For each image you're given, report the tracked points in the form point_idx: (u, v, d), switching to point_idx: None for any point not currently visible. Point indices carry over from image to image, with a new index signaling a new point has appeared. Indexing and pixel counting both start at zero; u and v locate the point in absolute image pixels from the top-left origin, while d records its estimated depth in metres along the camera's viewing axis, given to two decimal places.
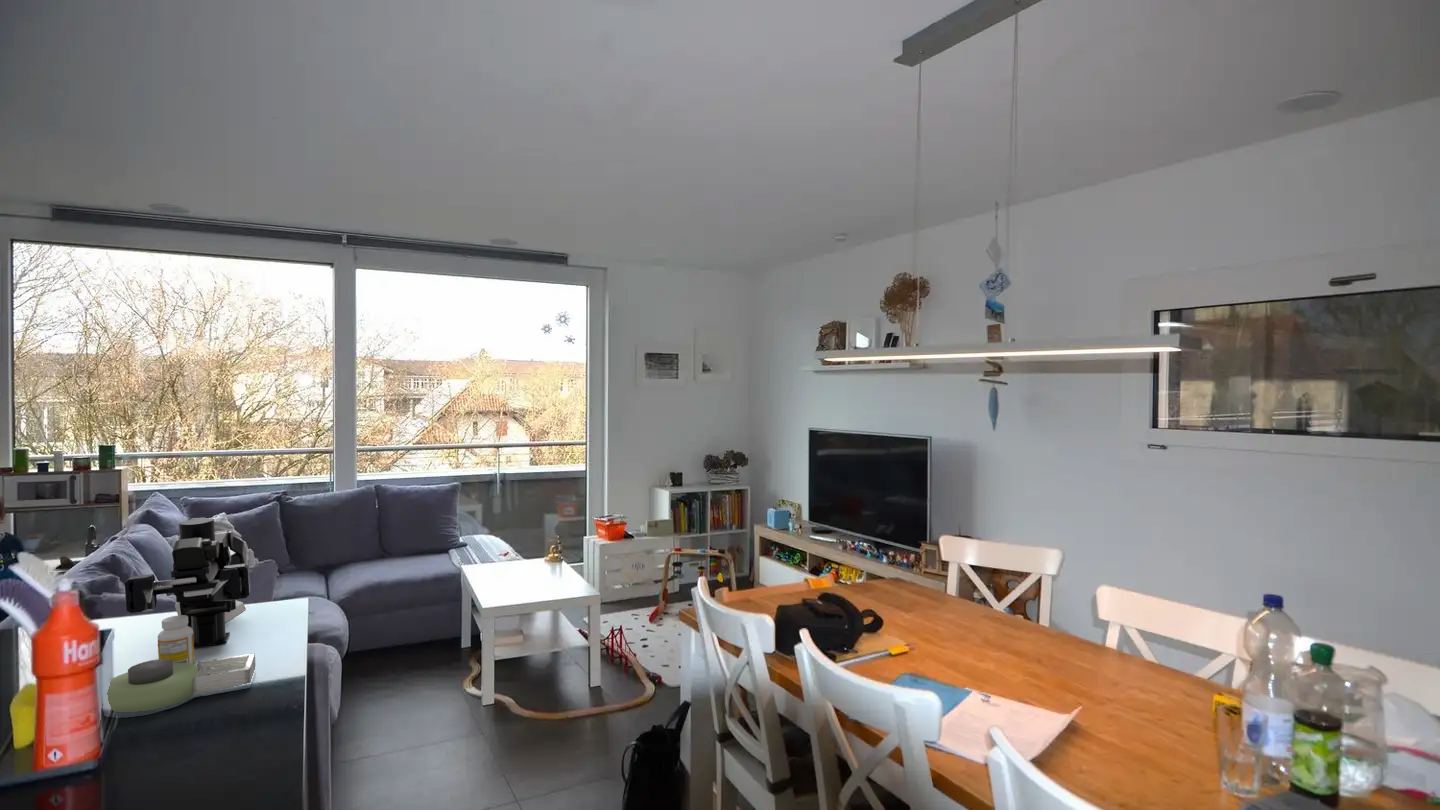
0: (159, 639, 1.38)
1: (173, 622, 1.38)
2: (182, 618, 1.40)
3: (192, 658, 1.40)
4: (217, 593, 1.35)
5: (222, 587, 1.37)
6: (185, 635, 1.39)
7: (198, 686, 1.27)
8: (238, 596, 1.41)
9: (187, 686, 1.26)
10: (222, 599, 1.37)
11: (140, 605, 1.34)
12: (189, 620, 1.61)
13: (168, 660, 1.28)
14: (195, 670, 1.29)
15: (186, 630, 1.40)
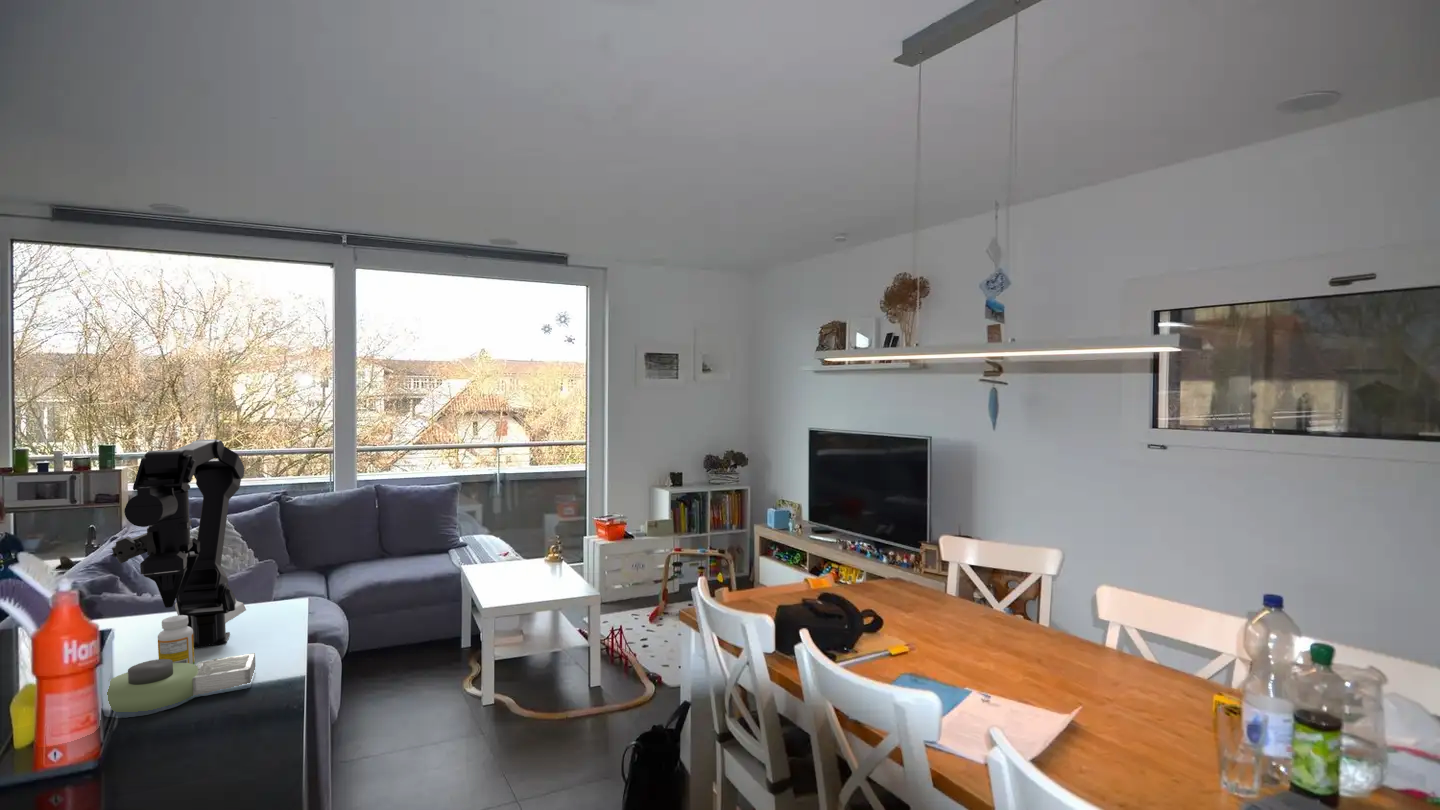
0: (159, 639, 1.38)
1: (173, 622, 1.38)
2: (182, 618, 1.40)
3: (192, 658, 1.40)
4: (166, 600, 1.35)
5: (162, 591, 1.34)
6: (185, 635, 1.39)
7: (198, 686, 1.27)
8: (179, 573, 1.34)
9: (187, 686, 1.26)
10: (177, 591, 1.35)
11: None
12: (189, 620, 1.61)
13: (168, 660, 1.28)
14: (195, 670, 1.29)
15: (186, 630, 1.40)
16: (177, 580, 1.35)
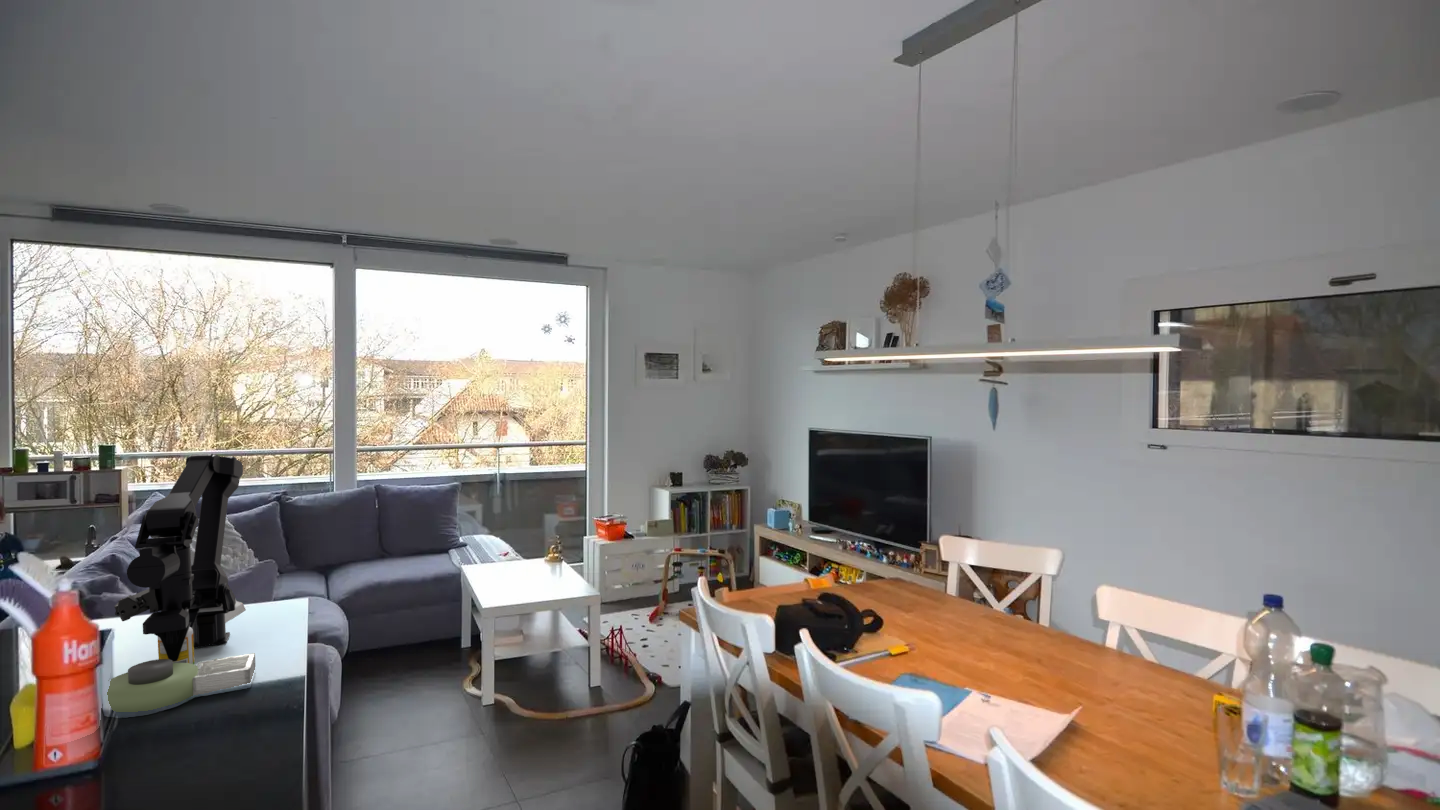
0: (159, 639, 1.38)
1: None
2: None
3: (192, 658, 1.40)
4: (171, 654, 1.37)
5: (166, 646, 1.36)
6: None
7: (198, 686, 1.27)
8: (184, 629, 1.36)
9: (187, 686, 1.26)
10: (181, 645, 1.37)
11: None
12: None
13: (168, 660, 1.28)
14: (195, 670, 1.29)
15: None
16: (181, 635, 1.37)
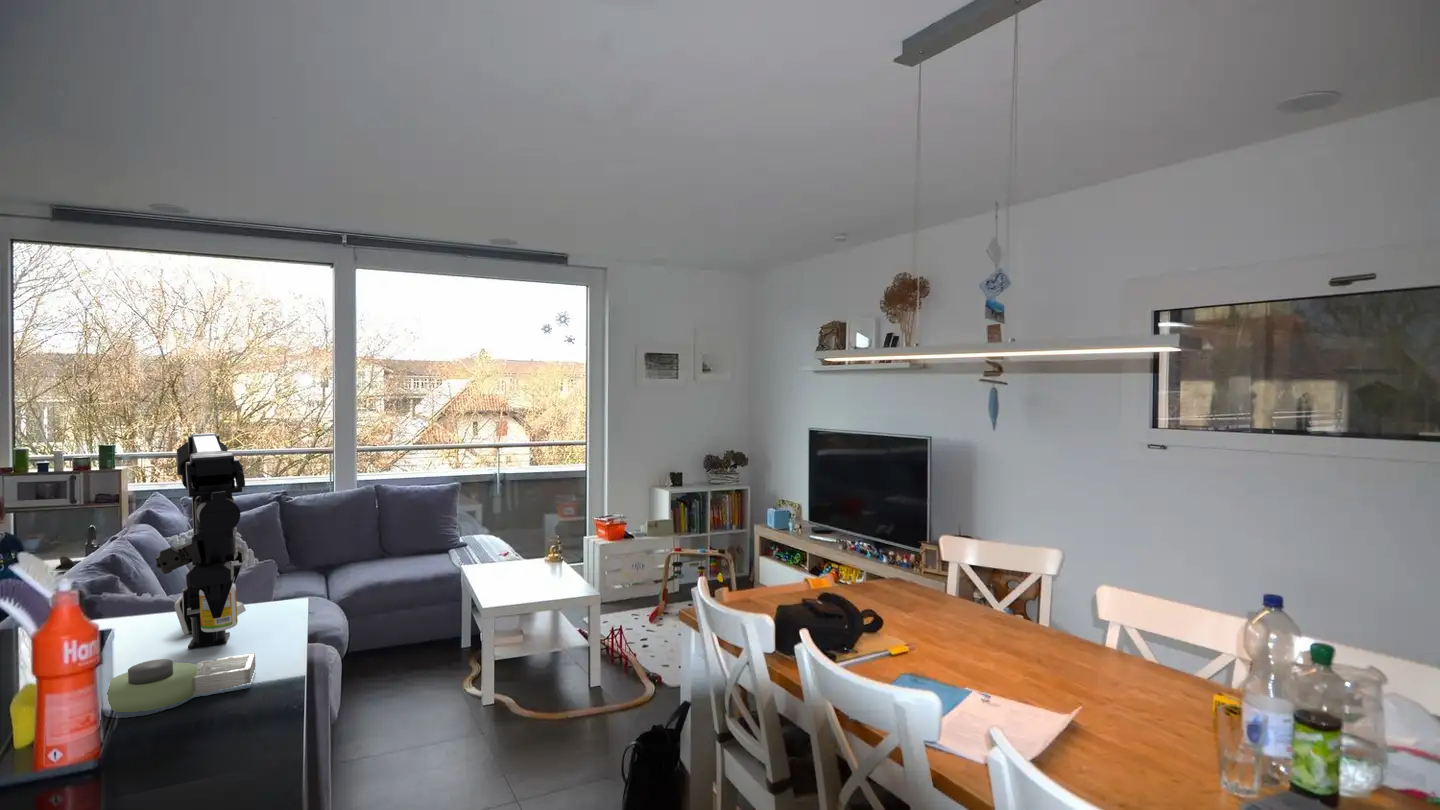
0: (201, 594, 1.30)
1: None
2: None
3: (235, 615, 1.32)
4: (214, 610, 1.29)
5: (210, 601, 1.28)
6: None
7: (198, 686, 1.27)
8: (228, 583, 1.28)
9: (187, 686, 1.26)
10: (225, 601, 1.29)
11: None
12: (188, 620, 1.61)
13: (168, 660, 1.28)
14: (195, 670, 1.29)
15: None
16: (225, 590, 1.29)
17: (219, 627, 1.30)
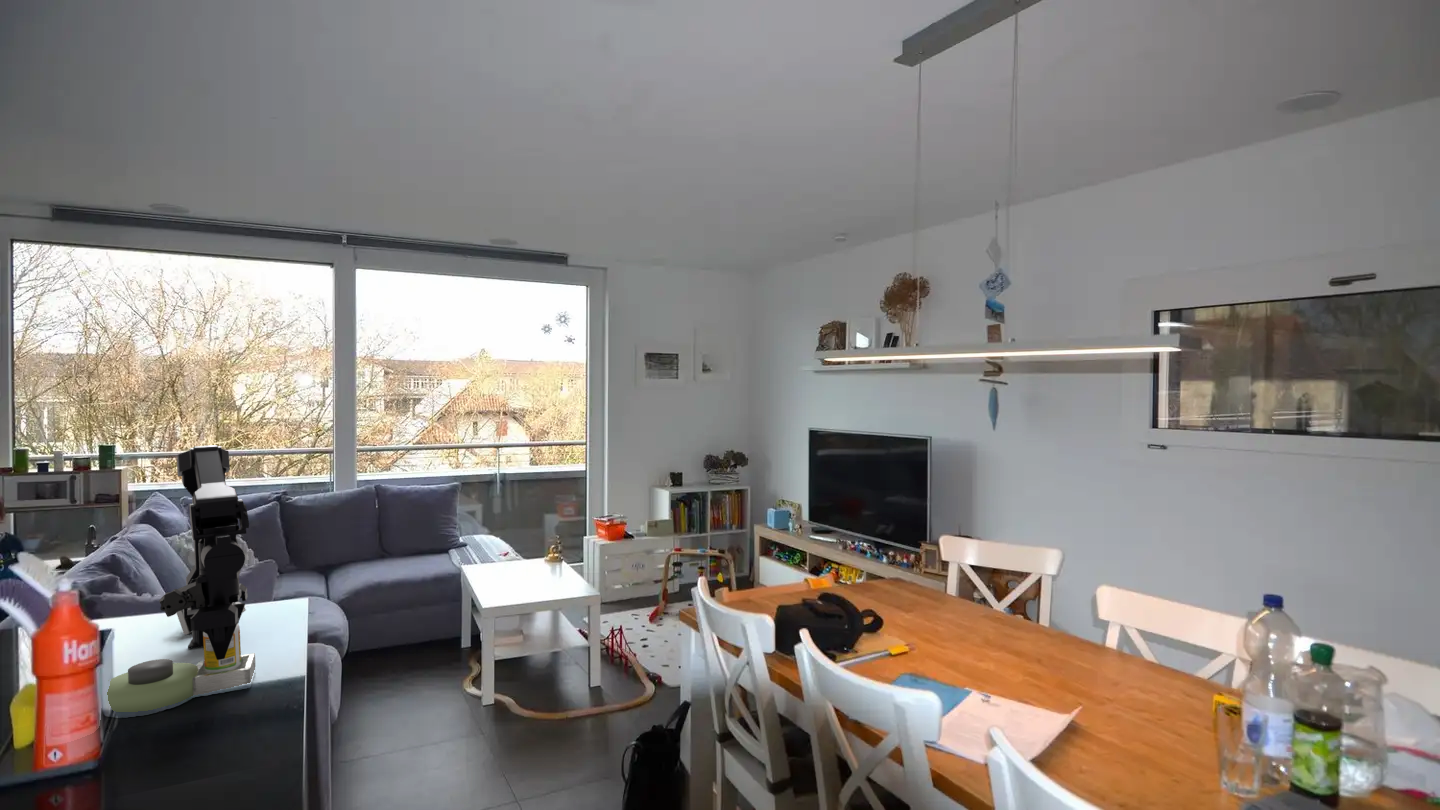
0: (205, 635, 1.30)
1: None
2: None
3: (239, 656, 1.33)
4: (218, 652, 1.29)
5: (213, 643, 1.28)
6: None
7: (198, 686, 1.27)
8: None
9: (187, 686, 1.26)
10: (229, 642, 1.29)
11: None
12: (188, 620, 1.61)
13: (168, 660, 1.28)
14: (195, 670, 1.29)
15: None
16: (229, 631, 1.29)
17: (223, 668, 1.30)
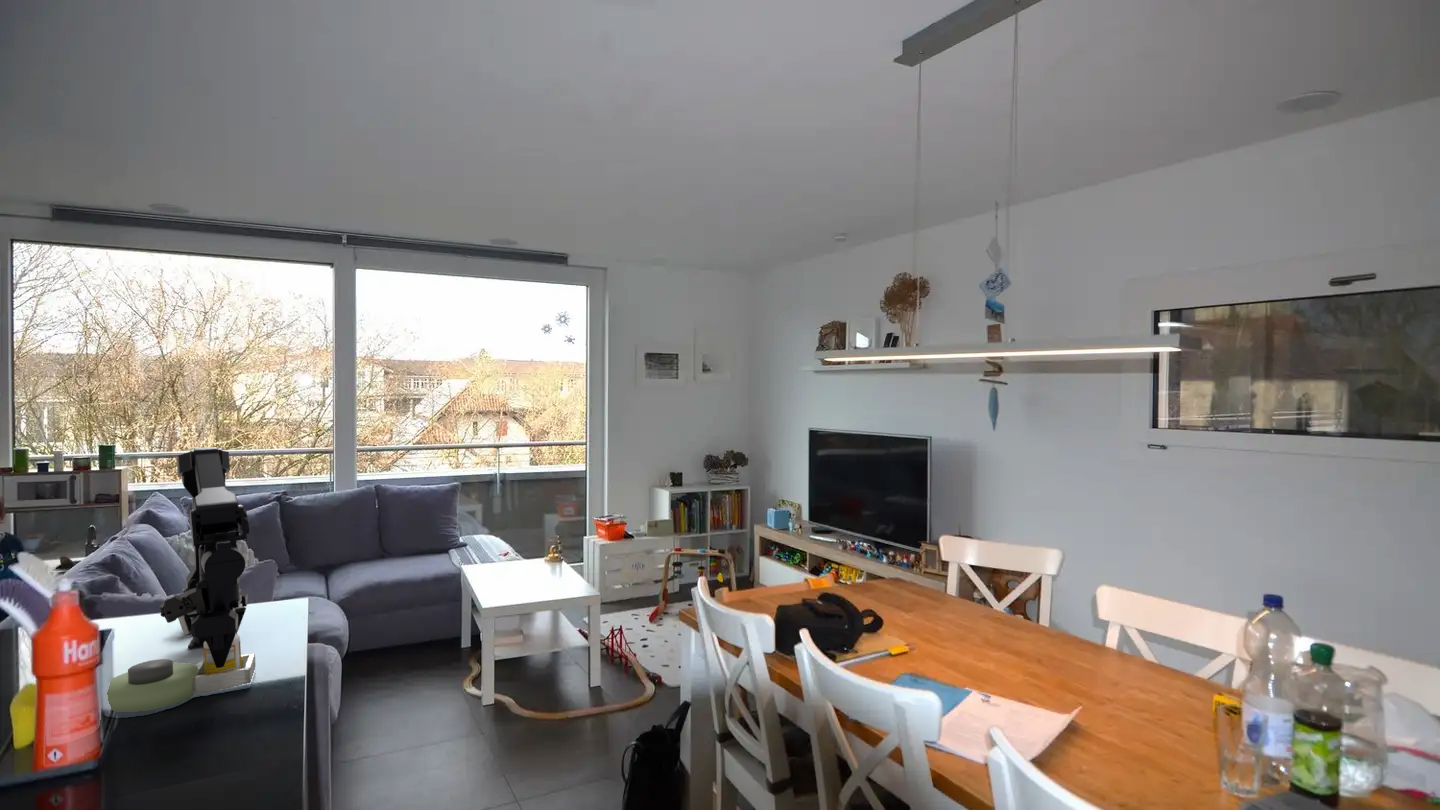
0: (205, 647, 1.30)
1: None
2: None
3: (239, 667, 1.33)
4: (217, 660, 1.28)
5: (213, 651, 1.27)
6: (233, 642, 1.31)
7: (198, 686, 1.27)
8: None
9: (187, 686, 1.26)
10: (228, 650, 1.28)
11: None
12: (188, 621, 1.61)
13: (168, 660, 1.28)
14: (195, 670, 1.29)
15: None
16: (229, 639, 1.28)
17: None
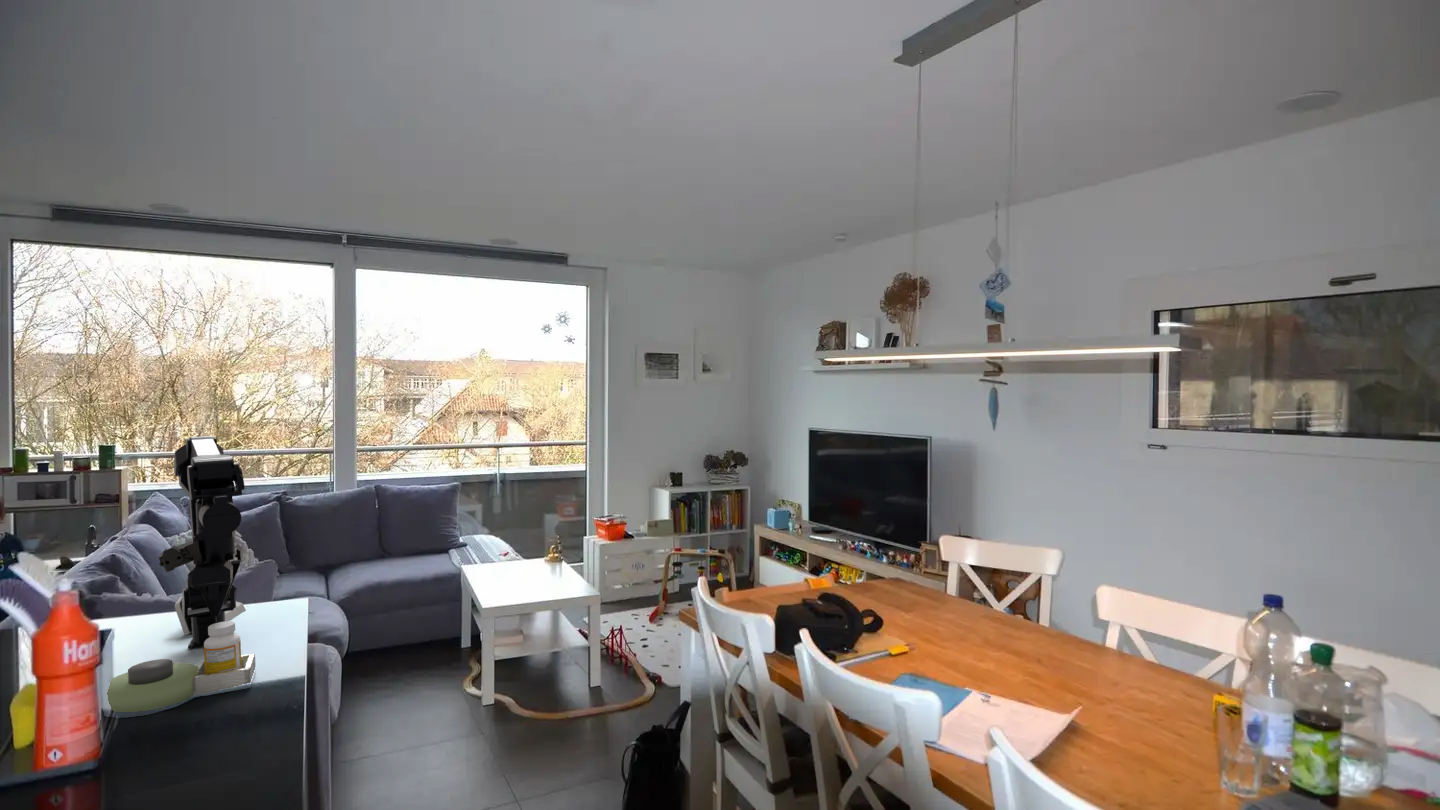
0: (206, 647, 1.30)
1: (220, 629, 1.30)
2: (229, 624, 1.32)
3: (239, 667, 1.33)
4: (212, 609, 1.34)
5: (208, 600, 1.34)
6: (233, 642, 1.31)
7: (198, 686, 1.27)
8: (226, 584, 1.33)
9: (187, 686, 1.26)
10: (223, 600, 1.35)
11: None
12: (189, 621, 1.61)
13: (168, 660, 1.28)
14: (195, 670, 1.29)
15: (233, 637, 1.32)
16: (223, 590, 1.34)
17: None
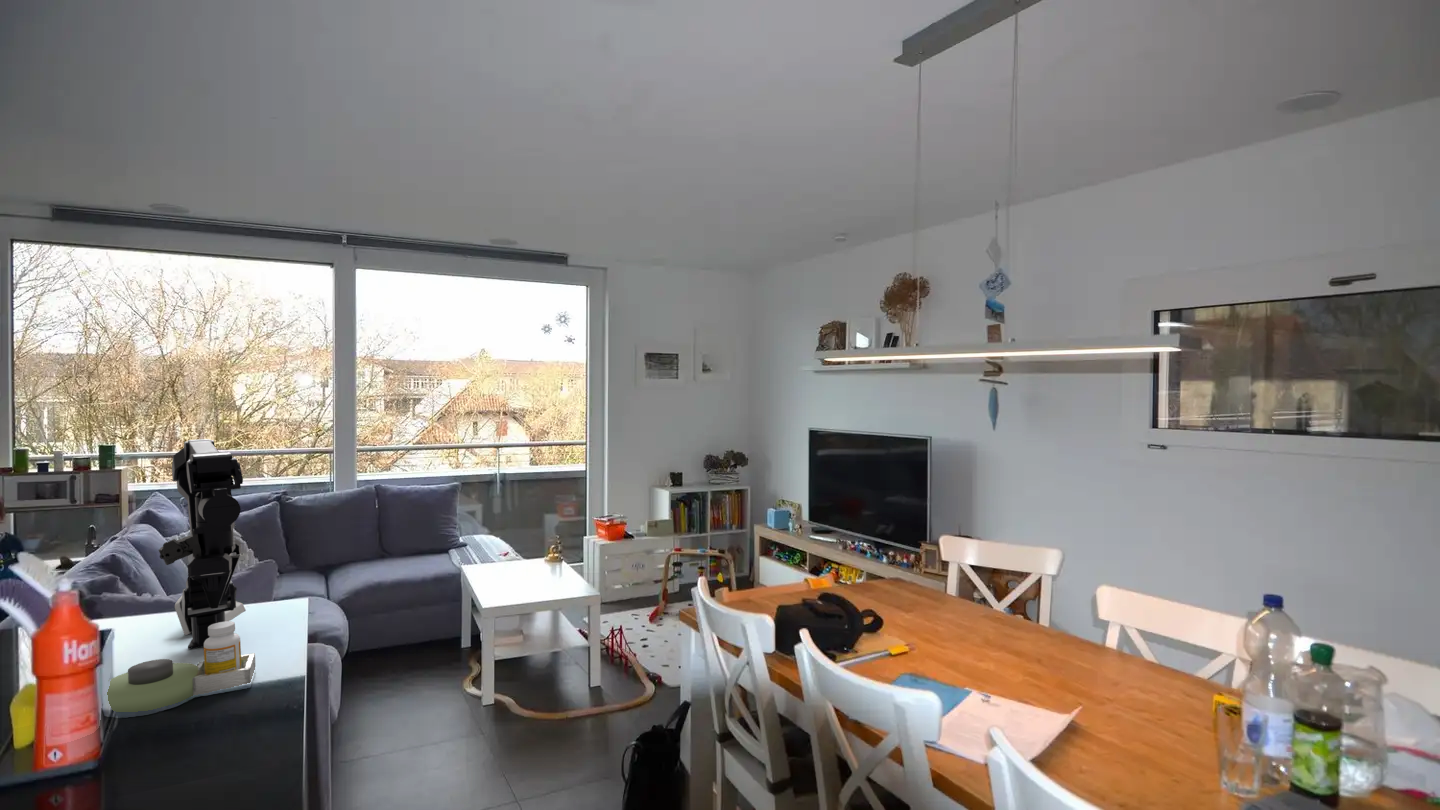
0: (205, 647, 1.30)
1: (220, 629, 1.30)
2: (229, 624, 1.32)
3: (239, 667, 1.33)
4: (212, 601, 1.37)
5: (208, 592, 1.36)
6: (233, 642, 1.31)
7: (198, 686, 1.27)
8: None
9: (187, 686, 1.26)
10: (222, 592, 1.37)
11: None
12: (189, 621, 1.61)
13: (168, 660, 1.28)
14: (195, 670, 1.29)
15: (233, 637, 1.32)
16: (222, 582, 1.37)
17: None
